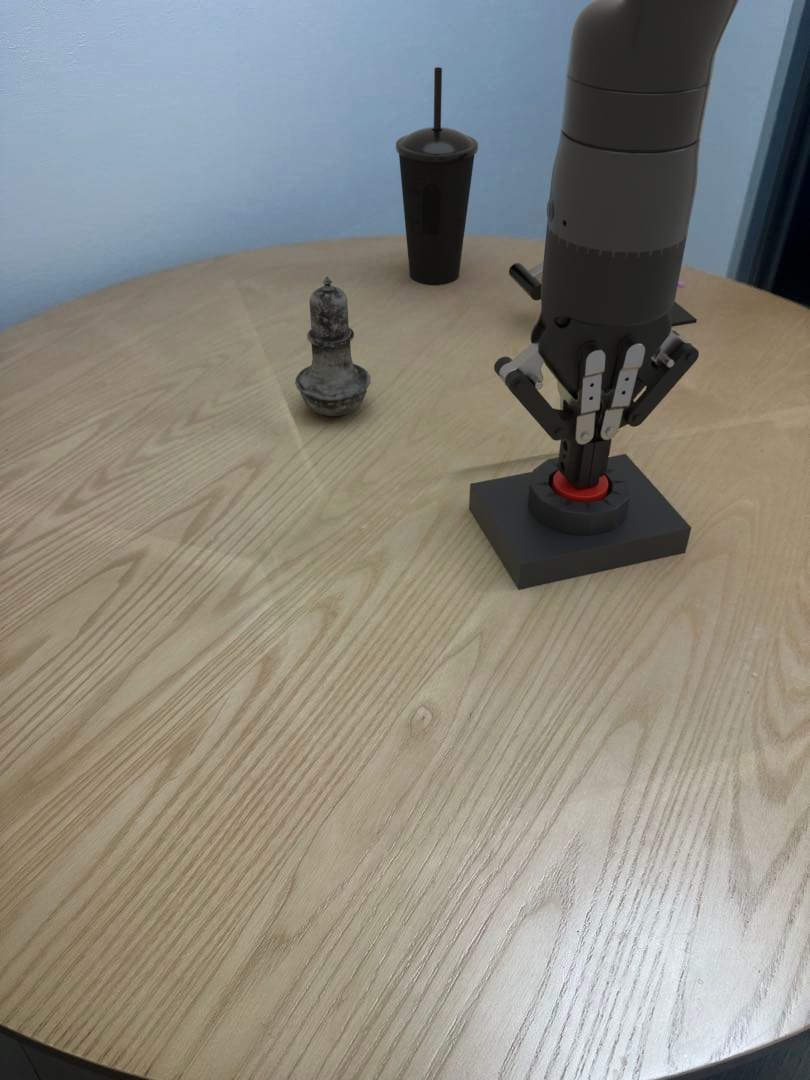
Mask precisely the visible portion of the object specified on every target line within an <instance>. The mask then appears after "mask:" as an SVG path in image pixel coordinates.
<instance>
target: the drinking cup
mask: <svg viewBox="0 0 810 1080" xmlns="http://www.w3.org/2000/svg"><path fill="white" fill-rule="evenodd" d="M433 71H434V73H433V78H434V79H433V126H431V127H430V126H429V127H424V128H420V129H417V130H415V131H413V132H411V133H409V134H407V135H403V136H401V137H400V138H398V139H397V141H396V142H395V151H396V153H397V154H398V158H399V159H398V160H399V169H400V182H401V194H402V205H403V215H404V224H405V225H404V227H405V237H406V249H407V261H408V270H409V278H410V279H411V280H412V281H414V282H416V283H418V284H422V285H427V286H443V285H448V284H451V283H453V282H455V281H457V280H458V279H459V277H460V268H461V263H462V253H463V247H464V239H465V232H466V223H467V215H468V207H469V201H470V194H471V193H470V192H471V184H472V176H473V169H474V163H475V162H474V161H475V154H477V153H478V151H479V142H478V141H477V139H475V138H473V137H472V136H469V135H467V134H464V133H463V132H461V131H459V130H456V129H454V128H450V127H445V126H442V95H443V92H442V91H443V68H442V67H437V66H436V67H434V70H433Z"/></svg>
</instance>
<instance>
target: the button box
mask: <svg viewBox="0 0 810 1080" xmlns="http://www.w3.org/2000/svg"><path fill="white" fill-rule="evenodd" d="M608 457H609V459H608V465H607V470H606V472H605V474H604V475H605V476H606V478H607V480H608V491H607V497H605V498H604V499H603V500H598V501H593V502H588V503H584V502H576V501H569V500H567V499H565V498H563V497H561V496H559V495H557V494H555V493H554V491H553V490H552V484H553V477H554V475H555V474H556V472H557V471H558V470H559V468H558V459H559V456H556V457H552V458H548V459H546V460H545V461H543V462H542V463H540V464H539V465H537V466H536V467H535V468H533V470H532V471H528V472H524V473H519V474H513V475H507V476H503V477H498V478H492V479H487V480H483V481H477V482H472V483H470V484H469V496H468V497H469V499H468V509H469V512H470V513H471V514H472V516H473V518H474V520H475V521H476V523H477V524H478V526H479V528H480V529H481V531H482V532H483V534H484V536H485V537H486V539H487V541H488V542H489V544H490V545H491V548H492V549H493V550H494V553H495V554H496V556H497V557H498V559H499V561H501V562H500V563H502V565H503V567H504V569H505V570H506V572H507V573H508V576H509V577H510V578H511V580H512V582H513V584H514V585H515V587H516V589H517V590H518V591H520V590H524V589H530V588H533V587H538V586H543V585H548V584H552V583H556V582H560V581H565V580H570V579H573V578H579V577H583V576H588V575H592V574H597V573H601V572H605V571H609V570H610V571H611V570H615V569H620V568H622V567H623V568H624V567H629V566H633V565H638V564H642V563H646V562H651V561H655V560H660V559H665V558H668V557H673V556H677V555H682V554H685V553H686V551H687V547H688V545H689V539H690V535H691V531H692V527H691V525H690V524H689V523H688V521H686V520H685V519H684V517H683V515H681V514H680V513H679V512H678V511H677V509H676V508H674V506H673V505H672V504H671V503H670V502H669V501H668V500H667V498H666V497H665V496H664V495H663V494H662V492H661V491H660V490H659V489H658V488H657V487H656V486H655V485H654V483H652V481H651V480H650V479H649V478H648V477H647V476H646V475H645V473H643V471H642V470H641V469H640V467H638V465H636V463H634V461H633V460H632V459H631V458H630V456H628V454H626V453H622V454H618V455H613V456H608Z"/></svg>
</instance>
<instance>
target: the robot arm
mask: <svg viewBox="0 0 810 1080" xmlns="http://www.w3.org/2000/svg"><path fill="white" fill-rule="evenodd" d="M739 1H740V0H594V1H591V2H590V3H589V4H587V5H586V6H585V7H583V9H582V10H581V11H580V13H579V14H578V15H577V17H576V19H575V21H574V23H573V27H572V31H571V36H570V41H569V49H568V57H567V64H566V73H565V84H564V92H563V102H562V103H563V104H562V113H561V124H560V127H561V128H560V133H559V140H558V145H557V148H556V153H555V157H554V162H553V167H552V172H551V180H550V190H549V197H548V201H547V204H546V216H547V221H546V229H545V230H546V232H545V241H544V251H543V262H542V263H543V272H542V282H540V283H541V299H540V307H541V308H540V314H539V316H538V319H537V321H536V322H535V324H534V326H533V328H532V330H531V333H530V344H529V345H528V346H527V347H526V348H524V349H523V350H522V351H521V352H520V353H519V354H517V356H515V357H514V358H511V357H509V356H502V357H500V358H498V359H497V360H496V362H495V363H494V365H493V370H494V372H495V374H496V375H497V376H498V378H499V379H500V380H501V381H502V383H503V384H504V385H505V386H506V387H507V389H508V390H509V391H510V393H511V394H512V395H513V396H514V397H515V398H516V399H517V401H518V402H519V403H520V404H521V405H522V406H523V407H524V408H525V410H526V411H527V412H528V413H529V414H530V416H531V417H532V418H533V419H534V420H535V421H536V423H538V425H539V426H540V427H541V428H542V429H543V430H544V432H545V433H546V434H547V435H548V436H549V437H550V438H551V440H552V441H557V442H558V441H560V444H559V450H558V451H559V453H558V457H559V459H558V468H559V471H560V472H561V474H562V475H563V476H564V477H565V479H566V480H567V481H568V483H571V485H572V486H573V487H574V488H575V489H576V490H578V489H583V488H587V487H593V486H597V485H598V483H599V477H602V476H603V475H604V474H605V472H606V470H607V465H608V459H609V457H610V452H611V447H612V441H613V440H612V439H614V438H615V437H616V436H617V435H618V433H619V430H620V429H622V428H624V427H625V426H627V425H629V426H630V427H631V428H635V427H638V426H640V425H642V424H643V422H645V420H646V419H648V417H649V416H650V414H651V413H652V412H654V410H655V409H656V408H657V407H658V406H659V404H660V403H661V402H662V401H663V400H664V399H665V397H666V396H667V395H668V394H669V393H670V392H671V390H672V389H673V388H674V387H675V386H676V385H677V384H678V382H680V380H681V379H682V378H683V377H684V375H685V374H686V373H687V372H688V371H690V369H691V368H692V366H694V364H695V363H696V362H697V361H698V358H699V356H700V352H699V350H698V349H697V348H696V347H695V346H694V345H693V344H692V343H691V342H690V341H689V340H688V339H686V338H685V337H684V336H683V335H681V334H679V332H677V331H676V330H672V328H673V326H672V320H671V317H670V314H669V310H670V309H671V308H672V306H673V304H674V301H675V300H676V298H677V297H676V296H677V292H678V288H677V286H678V281H680V275H681V270H682V264H683V259H684V255H685V250H686V243H687V239H688V233H689V227H690V221H691V218H692V212H693V207H694V201H695V196H696V191H697V184H698V175H699V155H700V143H701V136H702V131H703V127H704V121H705V115H706V112H707V111H706V110H707V104H708V99H709V93H710V88H711V85H712V79H713V72H714V68H715V67H714V66H715V61H716V60H715V59H716V54H717V51H718V48H719V46H720V44H721V41H722V39H723V36H724V34H725V32H726V30H727V27H728V25H729V22H730V20H731V18H732V16H733V14H734V13H735V10H736V8H737V6H738V4H739ZM675 302H676V301H675ZM543 364H545V366H546V367H547V369H548V370H549V371H550V373H551V374H552V375H553V377H554V378H555V379H556V381H557V383H556V387H557V391H558V394H559V408H553V407H552V406H551V404H550V403H549V402H548V400H547V399H545V397H544V396H543V395H542V393H541V392H540V391H539V390H541V389H542V388H543V385H544V384H543V381H544V376H543V373H542V366H543ZM644 389H645V390H644ZM643 390H644V391H643ZM642 391H643V392H642ZM641 392H642V393H641ZM640 393H641V394H640ZM637 397H638V398H637ZM636 398H637V399H636ZM634 400H635V401H634Z"/></svg>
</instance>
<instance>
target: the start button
mask: <svg viewBox="0 0 810 1080" xmlns="http://www.w3.org/2000/svg"><path fill="white" fill-rule="evenodd" d="M552 490H553V491H554V493H555V494H557V495H559V496H561V497H563V498H565V499H567V500H569V501H576V502H584V503H588V502H593V501H598V500H603V499H604V498H605V497H607V491H608V480H607V478H606V476H605V475H603V476H602V477H599V483H598V485H597V486H593V487H587V488H583V489H578V490H576V489H575V488H574V487H573V486H572V485H571V483H568V481H567V480H566V479H565V477H564V476H563V475H562V474H561V472H560V471H559V470H558V471H557V472H556V474H555V475H554V477H553V484H552Z"/></svg>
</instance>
